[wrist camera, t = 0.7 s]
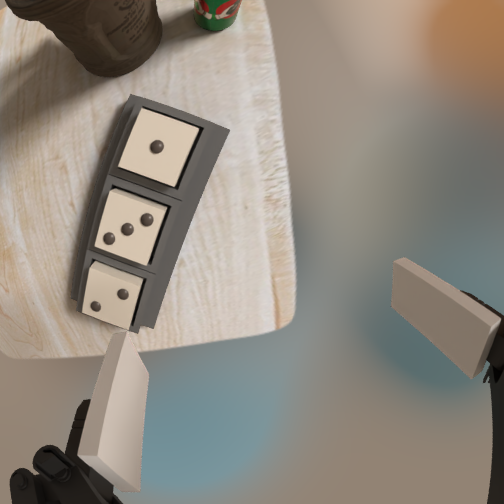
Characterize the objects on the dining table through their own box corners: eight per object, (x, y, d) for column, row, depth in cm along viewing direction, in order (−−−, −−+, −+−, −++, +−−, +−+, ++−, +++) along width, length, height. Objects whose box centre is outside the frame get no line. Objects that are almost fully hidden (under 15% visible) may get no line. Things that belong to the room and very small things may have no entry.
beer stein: (182, 12, 24) (158, -97, 5) (148, 85, 27) (72, 7, 8) (81, 6, 21) (12, -63, 2) (49, 72, 24) (-52, 34, 5)
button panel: (75, 291, 33) (63, 307, 29) (134, 97, 27) (125, 89, 23) (155, 320, 37) (151, 340, 33) (228, 131, 31) (232, 127, 27)
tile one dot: (124, 165, 27) (117, 166, 24) (146, 111, 25) (141, 107, 23) (176, 184, 28) (174, 186, 26) (198, 130, 27) (198, 128, 24)
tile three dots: (101, 239, 29) (94, 246, 26) (116, 187, 27) (109, 190, 25) (150, 257, 30) (146, 266, 28) (167, 206, 29) (164, 211, 26)
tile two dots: (88, 302, 31) (81, 313, 28) (96, 259, 29) (89, 267, 27) (132, 318, 32) (128, 330, 30) (144, 276, 31) (140, 287, 28)
